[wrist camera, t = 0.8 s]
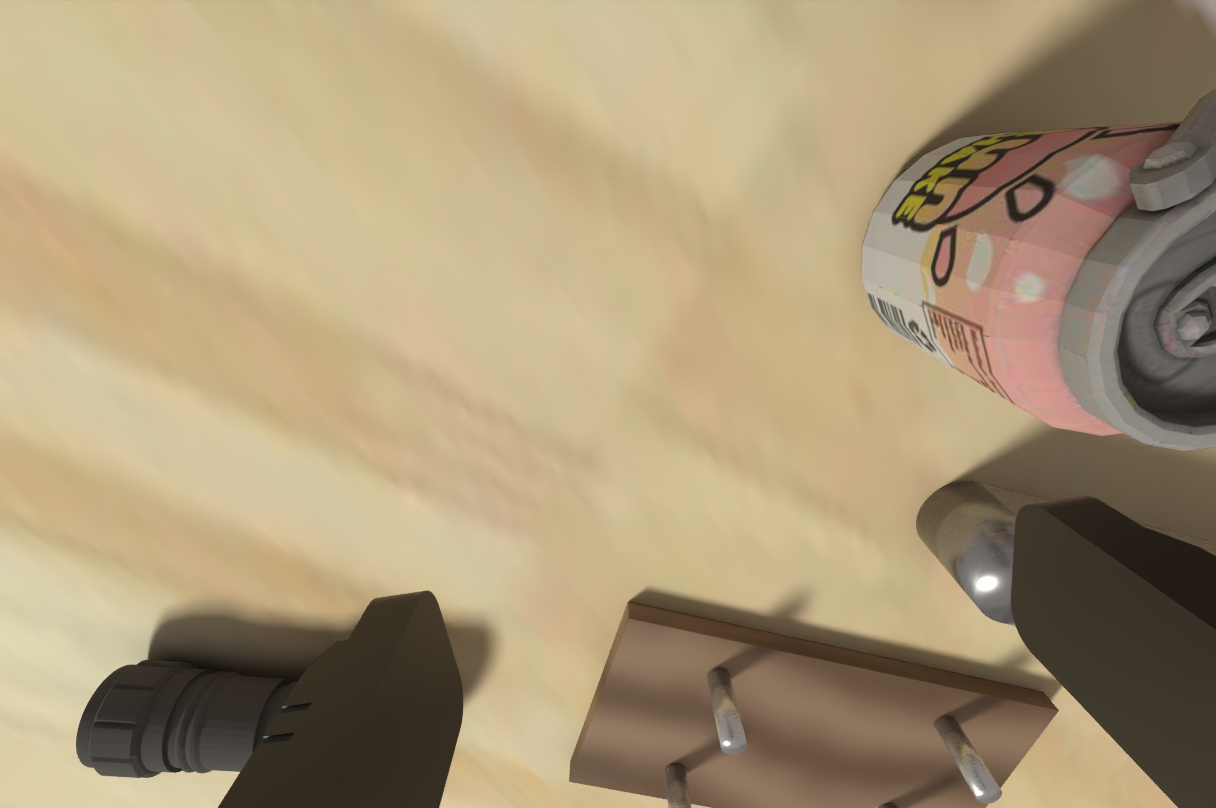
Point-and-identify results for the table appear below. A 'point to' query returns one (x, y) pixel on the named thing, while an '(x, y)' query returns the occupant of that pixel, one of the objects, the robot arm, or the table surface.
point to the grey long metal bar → (985, 540)
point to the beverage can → (1064, 272)
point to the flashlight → (176, 719)
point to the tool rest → (794, 723)
